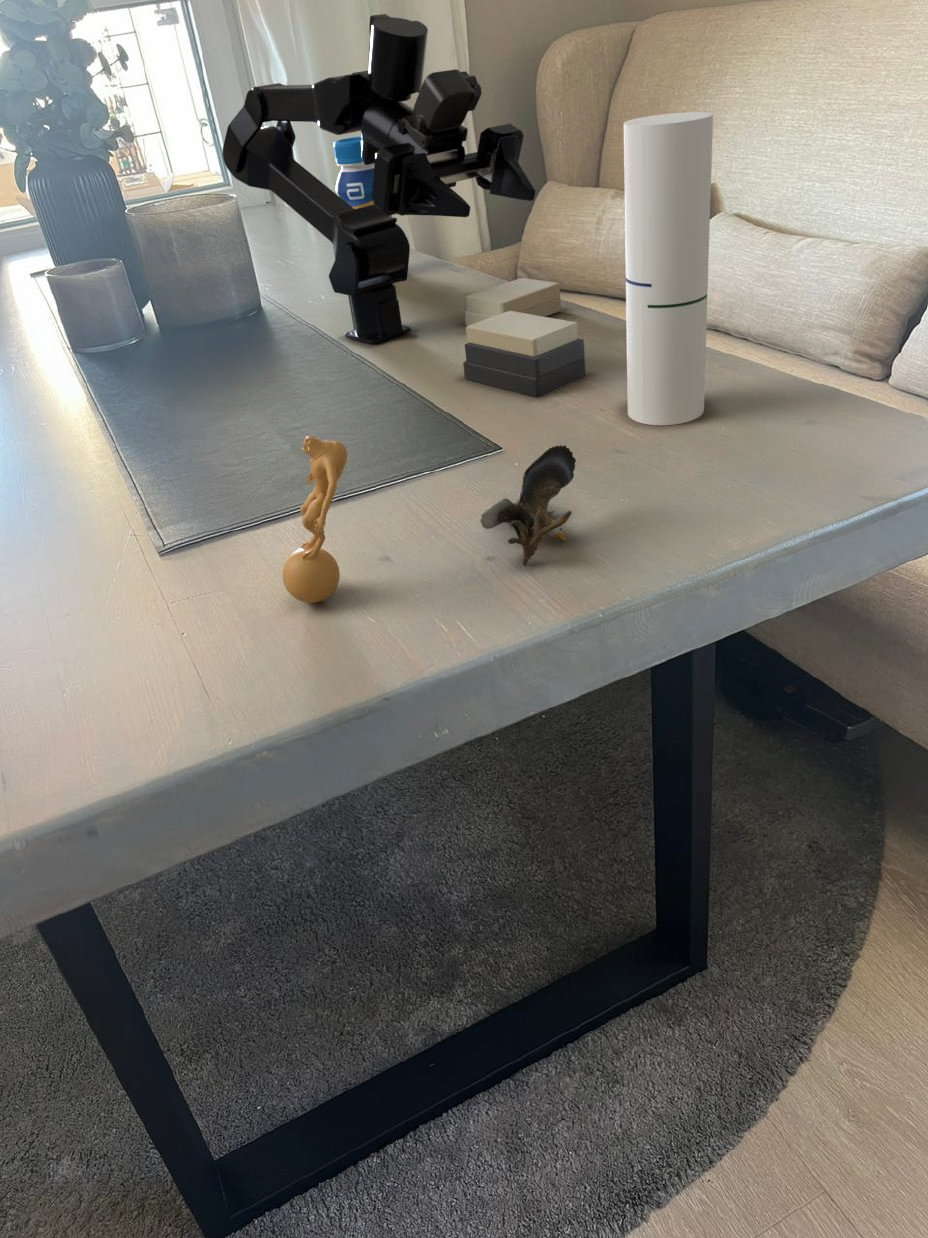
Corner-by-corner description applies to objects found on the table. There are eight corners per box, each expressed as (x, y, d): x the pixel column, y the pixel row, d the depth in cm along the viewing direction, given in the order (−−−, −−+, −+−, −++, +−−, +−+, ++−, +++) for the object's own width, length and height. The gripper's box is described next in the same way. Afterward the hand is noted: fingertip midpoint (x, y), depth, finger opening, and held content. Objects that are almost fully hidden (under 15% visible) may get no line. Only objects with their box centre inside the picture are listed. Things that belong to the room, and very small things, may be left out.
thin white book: (467, 342, 102) (465, 326, 101) (510, 326, 105) (509, 310, 104) (533, 357, 95) (532, 339, 94) (577, 339, 99) (577, 322, 98)
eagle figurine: (604, 549, 66) (599, 475, 73) (544, 483, 63) (544, 411, 69) (519, 597, 70) (521, 522, 76) (457, 537, 66) (464, 464, 73)
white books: (503, 332, 118) (501, 303, 116) (465, 325, 122) (462, 296, 120) (561, 310, 123) (560, 282, 121) (522, 304, 128) (520, 277, 126)
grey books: (464, 379, 104) (460, 343, 102) (513, 359, 108) (510, 324, 106) (536, 397, 97) (533, 359, 95) (586, 375, 101) (584, 338, 99)
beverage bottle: (372, 268, 157) (352, 135, 147) (411, 270, 153) (393, 133, 142) (338, 280, 152) (315, 144, 141) (378, 283, 147) (357, 142, 137)
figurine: (285, 576, 70) (249, 424, 64) (364, 561, 71) (336, 409, 65) (292, 634, 63) (252, 471, 57) (379, 616, 64) (349, 453, 58)
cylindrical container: (656, 393, 94) (657, 112, 81) (718, 405, 90) (730, 110, 76) (612, 416, 90) (605, 125, 77) (674, 430, 86) (679, 124, 72)
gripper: (343, 67, 92) (444, 135, 85) (483, 49, 102) (584, 109, 95) (336, 181, 100) (428, 250, 94) (466, 154, 110) (558, 215, 103)
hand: (501, 203), depth 96 cm, fingers open, 9 cm apart
